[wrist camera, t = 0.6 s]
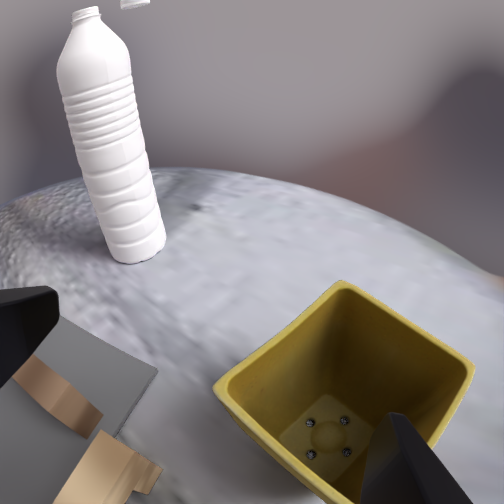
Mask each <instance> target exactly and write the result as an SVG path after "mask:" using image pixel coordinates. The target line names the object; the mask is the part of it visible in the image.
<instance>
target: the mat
mask: <svg viewBox="0 0 504 504" xmlns="http://www.w3.org/2000/svg"><path fill="white" fill-rule="evenodd" d="M33 354H34V355H35V356H36V357H38V358H39V359H40V360H41V361H42V362H44V363H45V364H46V365H47V366H48V367H50V368H51V369H52V370H53V371H55V372H56V373H57V374H59V375H60V376H61V377H62V378H64V379H65V380H66V381H68V382H69V383H70V384H71V385H72V386H73V387H74V388H75V389H76V390H77V391H78V392H79V393H81V394H82V395H83V396H84V397H85V398H86V399H87V400H88V401H89V402H90V403H91V404H92V405H93V406H94V407H96V408H97V409H98V410H99V411H100V412H101V413H102V414H103V417H102V418H101V420H100V421H99V423H98V424H97V426H96V427H95V429H94V430H93V432H92V433H91V435H90V436H89V438H88V439H85V438H84V437H82V436H81V435H79V434H78V433H76V432H75V431H73V430H72V429H71V428H69V427H68V426H66V425H65V424H64V423H62V422H61V421H60V420H58V419H57V418H56V417H54V416H53V415H52V414H50V413H49V412H48V411H47V410H46V409H44V408H43V407H42V406H41V405H40V404H39V403H38V402H37V401H36V400H35V399H34V398H33V397H31V396H30V395H29V394H28V393H27V392H26V391H25V390H24V389H23V388H22V387H21V386H20V385H19V384H18V383H17V382H16V381H15V380H14V379H13V378H12V377H11V378H10V379H9V380H8V381H7V382H6V383H5V385H4V386H3V387H2V388H1V389H0V504H53V502H54V500H55V499H56V497H57V496H58V494H59V493H60V491H61V489H62V488H63V486H64V485H65V483H66V482H67V480H68V479H69V477H70V475H71V474H72V472H73V471H74V469H75V468H76V466H77V465H78V463H79V462H80V460H81V459H82V457H83V455H84V454H85V452H86V451H87V449H88V448H89V446H90V445H91V443H92V442H93V440H94V439H95V437H96V436H97V434H98V433H99V431H100V430H103V431H104V432H106V433H107V434H109V435H110V436H112V437H113V438H115V436H116V435H117V433H118V431H119V430H120V428H121V427H122V425H123V424H124V422H125V421H126V419H127V418H128V416H129V415H130V413H131V412H132V410H133V409H134V407H135V405H136V404H137V402H138V401H139V399H140V398H141V396H142V395H143V393H144V392H145V390H146V389H147V387H148V386H149V384H150V383H151V381H152V380H153V378H154V377H155V375H156V374H157V372H158V370H157V368H155V367H153V366H151V365H149V364H147V363H145V362H143V361H141V360H139V359H137V358H135V357H133V356H131V355H129V354H127V353H125V352H123V351H121V350H119V349H117V348H116V347H114V346H112V345H110V344H108V343H106V342H105V341H103V340H101V339H99V338H97V337H96V336H94V335H92V334H90V333H89V332H87V331H85V330H84V329H82V328H80V327H78V326H77V325H75V324H74V323H72V322H70V321H69V320H67V319H65V318H64V317H62V316H61V315H60V318H59V321H58V323H57V325H56V326H55V327H54V328H53V329H52V331H51V332H50V333H49V334H48V336H47V337H46V338H45V339H44V340H43V342H42V343H41V344H40V345H39V347H38V348H37V349H36V350H35V352H34V353H33Z"/></svg>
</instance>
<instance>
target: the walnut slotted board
mask: <svg viewBox="0 0 504 504" xmlns="http://www.w3.org/2000/svg"><path fill="white" fill-rule="evenodd" d="M12 378H13V379H14V380H15V381H16V382H17V383H18V384H19V385H20V386H21V387H22V388H23V389H24V390H25V391H26V392H27V393H28V394H29V395H30V396H31V397H33V398H34V399H35V400H36V401H37V402H38V403H39V404H40V405H41V406H42V407H43V408H44V409H46V410H47V411H48V412H49V413H50V414H52V415H53V416H54V417H56V418H57V419H58V420H60V421H61V422H62V423H64V424H65V425H66V426H68V427H69V428H71V429H72V430H73V431H75V432H76V433H78V434H79V435H81V436H82V437H84V438H85V439H88V438H89V436H90V435H91V433H92V432H93V430H94V429H95V427H96V426H97V424H98V423H99V421H100V420H101V418H102V417H103V414H102V413H101V412H100V411H99V410H98V409H97V408H96V407H94V406H93V405H92V404H91V403H90V402H89V401H88V400H87V399H86V398H85V397H84V396H83V395H82V394H81V393H79V392H78V391H77V390H76V389H75V388H74V387H73V386H72V385H71V384H70V383H69V382H68V381H66V380H65V379H64V378H62V377H61V376H60V375H59V374H57V373H56V372H55V371H53V370H52V369H51V368H50V367H48V366H47V365H46V364H45V363H44V362H42V361H41V360H40V359H39V358H38V357H36V356H35V355H34V354H32V355H31V357H30V358H29V359H28V360H27V361H26V362H25V363H24V364H23V365H22V366H21V367H20V369H19V370H18V371H17V372H16V373H15V374H14V375H13V376H12Z"/></svg>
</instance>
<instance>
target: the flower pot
mask: <svg viewBox="0 0 504 504" xmlns="http://www.w3.org/2000/svg"><path fill="white" fill-rule="evenodd" d="M474 373H475V365H474V364H473V363H472V362H471V361H470V360H468V359H467V358H466V357H464V356H463V355H462V354H460V353H459V352H457V351H456V350H454V349H453V348H451V347H450V346H448V345H447V344H445V343H443V342H442V341H440V340H439V339H437V338H436V337H434V336H433V335H431V334H430V333H428V332H426V331H425V330H423V329H422V328H420V327H419V326H417V325H415V324H414V323H412V322H411V321H409V320H408V319H406V318H405V317H403V316H402V315H400V314H399V313H397V312H395V311H394V310H392V309H391V308H389V307H388V306H387V305H385V304H384V303H382V302H381V301H379V300H377V299H376V298H374V297H373V296H371V295H370V294H368V293H367V292H365V291H363V290H362V289H360V288H359V287H357V286H355V285H353V284H351V283H348V282H346V281H343V280H339V281H337V282H336V283H334V284H333V285H332V286H331V287H330V288H329V289H327V290H326V291H325V292H324V293H323V294H322V295H321V296H320V297H319V298H318V299H317V300H316V301H315V302H314V303H313V304H312V305H310V306H309V307H308V308H307V309H306V310H305V311H304V312H302V313H301V314H300V315H299V316H298V317H297V318H296V319H295V320H294V321H292V322H291V323H290V324H289V325H288V326H287V327H285V328H284V329H283V330H282V331H281V332H279V333H278V334H277V335H276V336H274V337H273V338H272V339H270V340H269V341H268V342H267V343H265V344H264V345H262V346H261V347H260V348H258V349H257V350H256V351H255V352H253V353H252V354H251V355H249V356H248V357H247V358H245V359H244V360H243V361H241V362H240V363H239V364H237V365H236V366H234V367H233V368H232V369H230V370H229V371H228V372H226V373H225V374H224V375H223V376H222V377H221V378H220V379H218V381H217V382H216V383H215V384H214V385H213V387H212V390H213V392H214V394H215V395H216V397H217V398H218V399H219V401H220V402H221V403H222V405H223V406H224V407H225V409H226V410H227V411H228V413H229V414H230V415H231V417H232V418H233V419H234V420H235V422H236V423H237V424H238V425H239V427H240V428H241V429H242V430H243V431H244V432H245V433H246V434H248V435H249V436H250V437H251V438H252V439H253V440H254V441H255V442H256V443H257V444H258V445H259V446H260V447H262V448H263V449H264V450H265V451H266V452H267V453H268V454H269V455H271V456H272V457H273V458H274V459H275V460H276V461H277V462H278V463H280V464H281V465H282V466H283V467H284V468H285V469H286V470H288V471H289V472H290V473H291V474H292V475H293V476H294V477H296V478H297V479H298V480H299V481H300V482H301V483H303V484H304V485H305V486H306V487H307V488H309V489H310V490H311V491H312V492H313V493H315V494H316V495H317V496H318V497H319V498H321V499H322V500H323V501H324V502H325V503H327V504H360V498H361V490H362V484H363V478H364V473H365V467H366V461H367V455H368V449H369V442H370V438H371V436H372V434H373V432H374V431H375V429H376V428H377V426H378V425H379V424H380V422H381V421H382V419H383V418H384V417H385V415H386V414H387V413H389V412H394V413H399V414H403V415H405V416H406V417H407V419H408V420H409V421H410V422H411V424H412V425H413V426H414V428H415V429H416V430H417V431H418V433H419V434H420V435H421V437H422V438H423V439H424V440H425V442H426V443H427V444H428V445H429V447H430V448H431V449H433V448H434V446H435V445H436V443H437V441H438V440H439V438H440V437H441V435H442V433H443V432H444V430H445V428H446V427H447V425H448V423H449V422H450V420H451V418H452V417H453V415H454V413H455V412H456V410H457V408H458V406H459V404H460V403H461V401H462V399H463V397H464V396H465V394H466V392H467V390H468V388H469V386H470V384H471V382H472V379H473V376H474ZM343 417H346V418H347V419H348V424H345V425H343V424H342V423H341V422H340V420H341V418H343ZM309 419H311V420H314V422H315V424H314V426H312V427H309V426H307V425H306V422H307V420H309ZM344 449H350V450H351V454H350V455H349V456H344V455H343V450H344ZM309 451H314V452H315V454H316V456H315V457H314V458H313V459H309V458H308V457H307V453H308V452H309Z"/></svg>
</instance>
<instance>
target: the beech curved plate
mask: <svg viewBox="0 0 504 504" xmlns="http://www.w3.org/2000/svg"><path fill="white" fill-rule="evenodd" d="M162 470H163V469H162V468H160V467H158V466H157V465H155V464H154V463H152V462H151V461H149V460H148V459H146V458H144V457H143V456H141V455H140V454H138V453H137V452H136V451H134V450H132V449H131V448H129V447H127V446H126V445H124V444H123V443H121V442H119V441H118V440H116V439H115V438H113V437H112V436H110V435H109V434H107V433H106V432H104V431H103V430H100V431H99V433H98V434H97V436H96V437H95V439H94V440H93V442H92V443H91V445H90V446H89V448H88V449H87V451H86V452H85V454H84V455H83V457H82V459H81V460H80V462H79V463H78V465H77V466H76V468H75V469H74V471H73V472H72V474H71V475H70V477H69V479H68V480H67V482H66V483H65V485H64V486H63V488H62V489H61V491H60V493H59V494H58V496H57V497H56V499H55V500H54V502H53V504H125V502H126V501H127V499H128V498H129V496H130V494H131V493H132V491H133V490H135V491H138V492H140V493H143V494H146V495H148V494H149V492H150V490H151V489H152V487H153V485H154V484H155V482H156V480H157V479H158V477H159V475H160V474H161V472H162Z"/></svg>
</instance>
